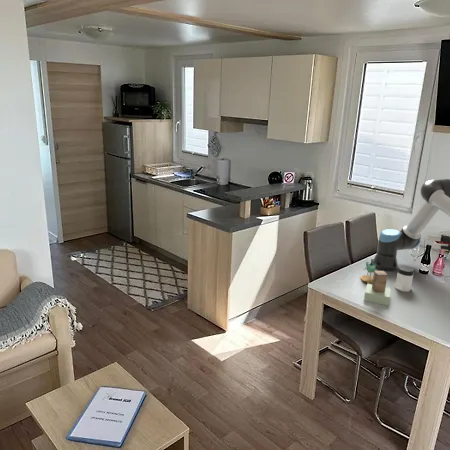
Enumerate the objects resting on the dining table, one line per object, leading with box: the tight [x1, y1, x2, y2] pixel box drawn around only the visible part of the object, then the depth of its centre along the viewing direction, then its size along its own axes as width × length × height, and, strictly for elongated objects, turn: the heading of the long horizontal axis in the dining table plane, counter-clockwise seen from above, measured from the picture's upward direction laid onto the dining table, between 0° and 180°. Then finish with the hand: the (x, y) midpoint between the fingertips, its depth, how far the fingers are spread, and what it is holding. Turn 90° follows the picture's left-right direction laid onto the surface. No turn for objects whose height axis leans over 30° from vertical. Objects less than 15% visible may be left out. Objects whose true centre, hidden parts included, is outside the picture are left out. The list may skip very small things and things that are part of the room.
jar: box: [394, 265, 415, 292], centre depth 230 cm, size 9×8×12 cm
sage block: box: [363, 283, 392, 306], centre depth 218 cm, size 12×12×5 cm
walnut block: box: [371, 270, 388, 292], centre depth 216 cm, size 5×5×10 cm
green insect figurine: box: [360, 258, 377, 284], centre depth 238 cm, size 10×18×15 cm, turn 164°
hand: (430, 241), depth 212 cm, fingers open, 13 cm apart
